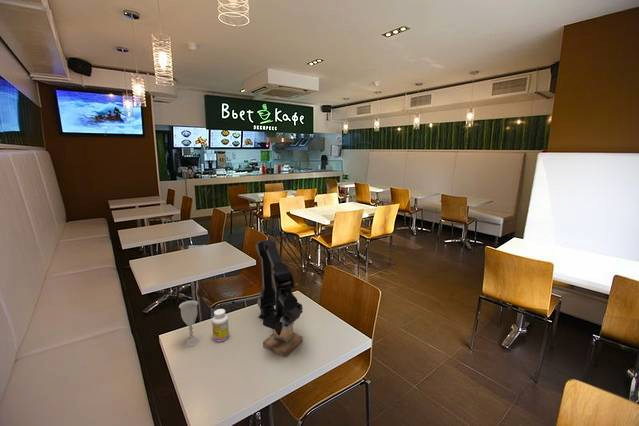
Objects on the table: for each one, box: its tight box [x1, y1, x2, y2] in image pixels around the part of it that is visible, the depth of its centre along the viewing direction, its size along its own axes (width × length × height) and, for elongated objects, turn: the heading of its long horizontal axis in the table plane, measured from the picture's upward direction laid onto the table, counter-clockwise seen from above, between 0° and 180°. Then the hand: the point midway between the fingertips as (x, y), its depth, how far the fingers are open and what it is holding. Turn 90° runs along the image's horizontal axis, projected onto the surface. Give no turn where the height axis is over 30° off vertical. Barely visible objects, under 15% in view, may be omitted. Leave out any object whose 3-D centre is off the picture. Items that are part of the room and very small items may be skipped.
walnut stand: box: [262, 332, 303, 358], centre depth 127 cm, size 12×12×2 cm
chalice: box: [178, 300, 199, 347], centre depth 126 cm, size 7×7×18 cm
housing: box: [271, 317, 295, 342], centre depth 126 cm, size 5×8×7 cm, turn 59°
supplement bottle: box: [211, 308, 230, 343], centre depth 130 cm, size 7×7×13 cm
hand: (282, 331), depth 126 cm, fingers closed on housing, 5 cm apart
